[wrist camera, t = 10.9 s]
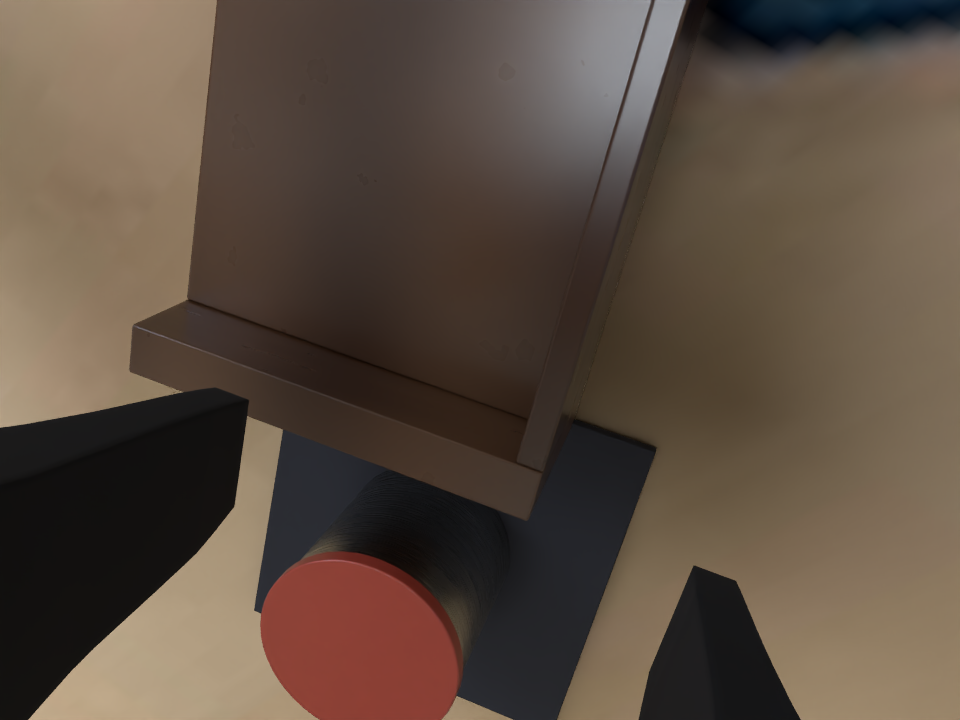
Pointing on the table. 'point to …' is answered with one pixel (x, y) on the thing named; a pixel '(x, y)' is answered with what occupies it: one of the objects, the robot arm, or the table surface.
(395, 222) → the desk shelf
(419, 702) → the cylinder
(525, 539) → the felt coaster
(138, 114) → the table surface
